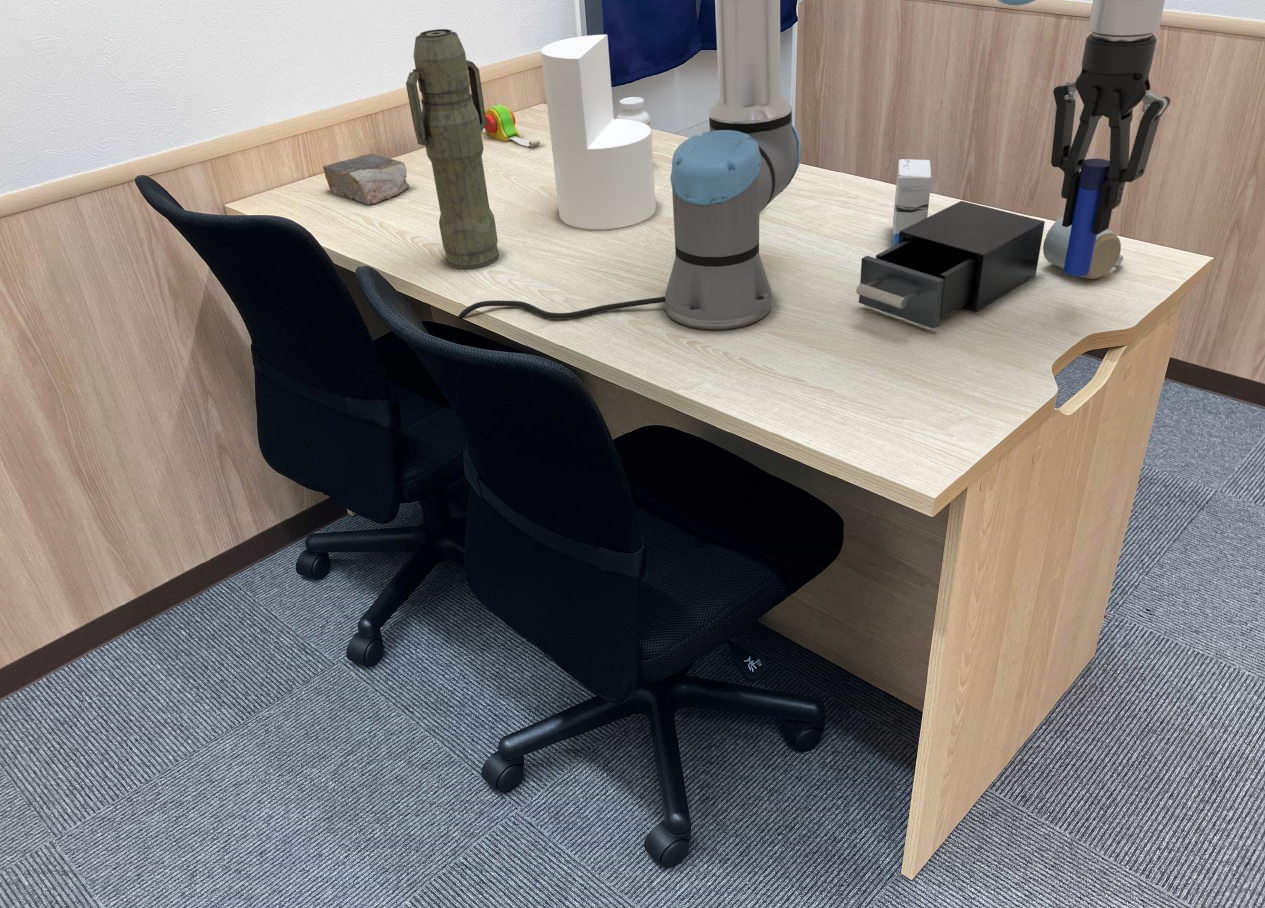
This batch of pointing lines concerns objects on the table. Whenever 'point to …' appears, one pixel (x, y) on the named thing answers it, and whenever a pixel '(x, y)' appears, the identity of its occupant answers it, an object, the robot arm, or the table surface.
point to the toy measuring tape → (504, 126)
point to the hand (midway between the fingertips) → (1084, 226)
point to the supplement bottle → (633, 110)
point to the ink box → (911, 194)
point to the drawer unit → (985, 245)
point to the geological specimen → (367, 178)
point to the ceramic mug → (1102, 257)
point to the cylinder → (594, 140)
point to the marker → (1085, 217)
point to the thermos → (454, 145)
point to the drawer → (918, 281)
